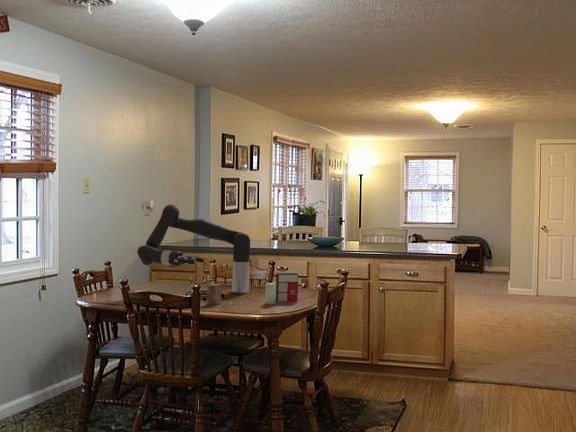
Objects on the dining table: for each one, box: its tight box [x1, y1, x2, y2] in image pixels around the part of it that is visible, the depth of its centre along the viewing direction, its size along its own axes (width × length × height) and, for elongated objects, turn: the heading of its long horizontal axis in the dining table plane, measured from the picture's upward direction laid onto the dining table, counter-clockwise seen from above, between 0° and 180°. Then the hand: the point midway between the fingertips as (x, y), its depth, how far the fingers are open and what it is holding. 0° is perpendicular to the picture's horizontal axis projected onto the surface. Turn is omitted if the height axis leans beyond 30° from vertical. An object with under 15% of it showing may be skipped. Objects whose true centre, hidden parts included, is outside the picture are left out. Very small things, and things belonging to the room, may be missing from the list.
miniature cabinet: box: [275, 272, 299, 302], centre depth 341 cm, size 11×4×15 cm, turn 105°
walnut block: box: [206, 283, 222, 306], centre depth 325 cm, size 5×5×10 cm
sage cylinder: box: [264, 282, 276, 306], centre depth 330 cm, size 5×5×10 cm
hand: (199, 261), depth 329 cm, fingers open, 8 cm apart
